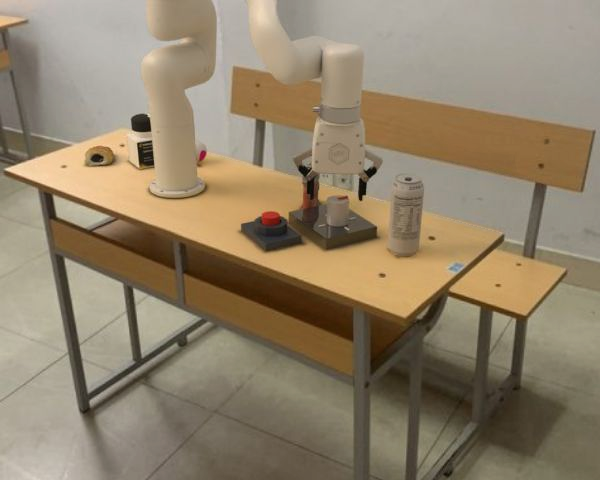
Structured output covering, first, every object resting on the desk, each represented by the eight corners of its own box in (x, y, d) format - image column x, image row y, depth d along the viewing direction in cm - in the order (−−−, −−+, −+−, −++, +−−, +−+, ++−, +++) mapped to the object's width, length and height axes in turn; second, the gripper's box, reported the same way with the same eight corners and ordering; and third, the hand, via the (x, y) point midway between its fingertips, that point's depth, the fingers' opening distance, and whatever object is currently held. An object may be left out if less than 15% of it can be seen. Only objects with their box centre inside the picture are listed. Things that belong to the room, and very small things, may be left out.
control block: (241, 231, 158) (240, 215, 156) (275, 223, 162) (275, 208, 160) (265, 251, 150) (265, 235, 148) (301, 243, 153) (301, 227, 152)
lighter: (314, 216, 165) (315, 171, 160) (299, 214, 166) (299, 170, 161) (321, 202, 172) (322, 158, 167) (306, 200, 173) (306, 157, 168)
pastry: (91, 154, 199) (89, 139, 197) (117, 154, 200) (116, 139, 198) (84, 166, 191) (82, 151, 189) (112, 166, 192) (110, 151, 190)
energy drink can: (419, 246, 153) (426, 173, 145) (417, 259, 147) (423, 185, 140) (389, 242, 154) (394, 171, 146) (385, 256, 149) (390, 182, 141)
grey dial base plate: (288, 223, 162) (288, 211, 161) (337, 212, 167) (337, 200, 166) (325, 250, 151) (326, 237, 149) (376, 237, 156) (377, 225, 155)
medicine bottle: (139, 169, 190) (134, 121, 184) (128, 161, 195) (123, 114, 189) (166, 164, 193) (162, 117, 187) (155, 156, 198) (151, 109, 192)
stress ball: (184, 180, 193) (189, 163, 187) (170, 155, 195) (175, 138, 189) (211, 173, 196) (216, 156, 191) (197, 148, 198) (202, 131, 193)
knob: (333, 228, 154) (334, 203, 151) (322, 220, 157) (322, 196, 154) (352, 224, 155) (353, 199, 153) (340, 216, 159) (341, 192, 156)
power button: (258, 221, 155) (258, 213, 154) (274, 218, 156) (274, 209, 156) (266, 227, 152) (266, 219, 151) (283, 224, 154) (283, 216, 153)
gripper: (293, 117, 142) (292, 204, 151) (388, 120, 142) (381, 206, 151) (294, 106, 148) (292, 189, 157) (384, 108, 149) (378, 191, 157)
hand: (336, 197), depth 154 cm, fingers open, 9 cm apart
